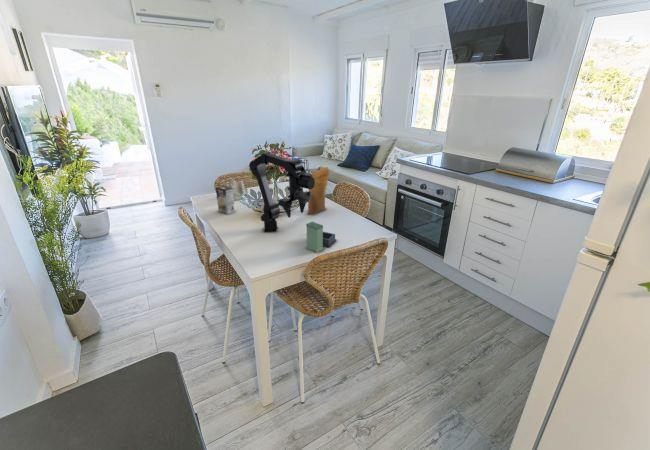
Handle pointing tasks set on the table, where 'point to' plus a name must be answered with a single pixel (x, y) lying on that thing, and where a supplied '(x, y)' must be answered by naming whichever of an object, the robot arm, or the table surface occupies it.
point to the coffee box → (225, 199)
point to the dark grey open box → (328, 239)
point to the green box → (314, 236)
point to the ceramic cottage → (238, 189)
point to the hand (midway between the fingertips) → (295, 214)
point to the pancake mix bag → (318, 191)
